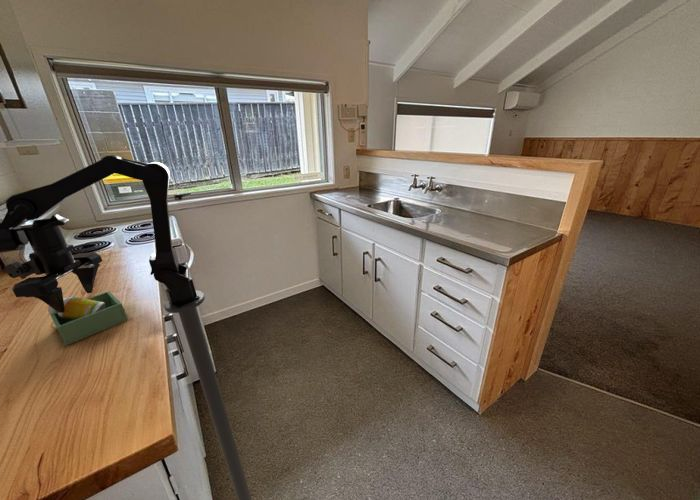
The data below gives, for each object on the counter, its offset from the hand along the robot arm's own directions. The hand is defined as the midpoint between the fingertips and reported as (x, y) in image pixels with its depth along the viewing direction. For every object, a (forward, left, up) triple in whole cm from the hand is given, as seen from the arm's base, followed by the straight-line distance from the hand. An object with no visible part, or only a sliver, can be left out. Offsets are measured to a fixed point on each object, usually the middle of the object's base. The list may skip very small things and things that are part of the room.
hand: (76, 302), depth 72 cm
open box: (-1, +2, -6) cm, 7 cm away
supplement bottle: (-3, +4, -4) cm, 6 cm away
